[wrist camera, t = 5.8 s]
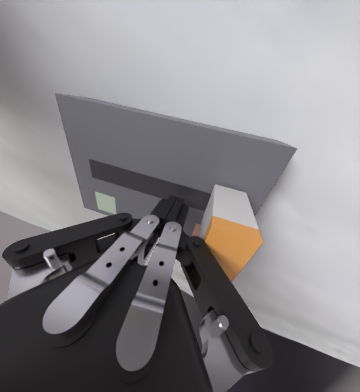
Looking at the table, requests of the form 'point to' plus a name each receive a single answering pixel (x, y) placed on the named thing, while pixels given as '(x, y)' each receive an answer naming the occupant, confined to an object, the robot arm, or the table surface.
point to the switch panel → (163, 159)
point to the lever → (230, 229)
